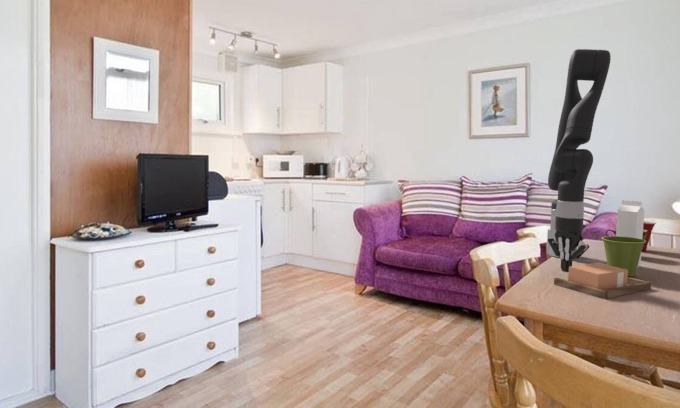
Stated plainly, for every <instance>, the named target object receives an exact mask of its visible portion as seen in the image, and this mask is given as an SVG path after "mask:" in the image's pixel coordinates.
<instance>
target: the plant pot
mask: <svg viewBox="0 0 680 408" xmlns="http://www.w3.org/2000/svg"><path fill="white" fill-rule="evenodd" d="M601 240H602V241H603V247H604V250H605V257H606V265H610V266H614V267H618V268H622V269H626V270H628V277H630V278H634V277H635V276H636V275H637V269H638V267H637V266H638V262H639V258H640V254H641V255H642V251H641V250H642V249H643V246H644V243H646V240H643V239H638V238H632V237H619V236H615V235H614V236H610V235H608V236H606V235H605V236H602V237H601Z"/></svg>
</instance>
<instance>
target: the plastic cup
mask: <svg viewBox="0 0 680 408" xmlns="http://www.w3.org/2000/svg"><path fill="white" fill-rule="evenodd" d="M656 224H657V222H656V221H649V220H644V224H643V229H644V230H647V235H646V238H645V240H646V243H644V246H643V249H642V250H641V252H646V251H647V249H648V244H649V241H650V239H651V234H652V233H653V232H652V231H653V229H654V228H655V225H656Z"/></svg>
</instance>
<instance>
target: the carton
mask: <svg viewBox="0 0 680 408" xmlns="http://www.w3.org/2000/svg"><path fill="white" fill-rule="evenodd" d="M628 277H629V276H628V270H626V269H622V268H618V267H614V266H610V265H607V264H605V263H602V262H594V263H587V264H579V265H572V266H570V267H569V272H568V275H567V280H568V281H571V282H575V283H579V284H582V285H586V286H589V287H593V288H597V289H600V290H608V289H613V288H618V287H623V286H627V285H628V284H627V278H628Z"/></svg>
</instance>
